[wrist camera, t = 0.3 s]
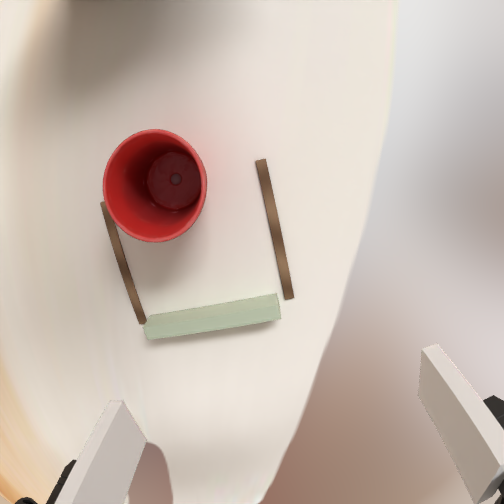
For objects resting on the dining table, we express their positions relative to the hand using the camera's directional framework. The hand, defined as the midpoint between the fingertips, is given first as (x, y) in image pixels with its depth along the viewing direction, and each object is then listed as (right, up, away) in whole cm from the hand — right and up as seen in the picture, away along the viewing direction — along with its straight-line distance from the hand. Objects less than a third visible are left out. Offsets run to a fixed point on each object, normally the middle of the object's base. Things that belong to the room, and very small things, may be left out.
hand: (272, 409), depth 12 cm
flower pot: (-10, +15, +26) cm, 32 cm away
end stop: (-6, -2, +31) cm, 31 cm away
